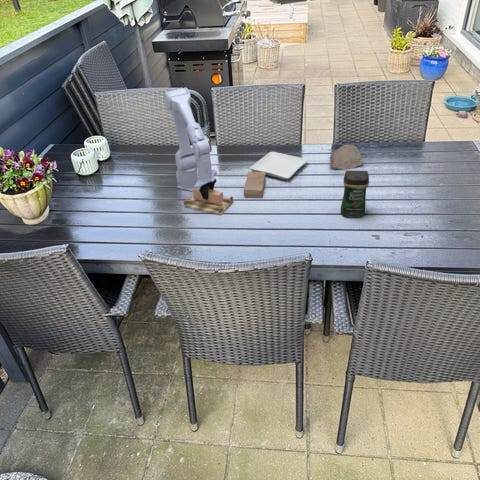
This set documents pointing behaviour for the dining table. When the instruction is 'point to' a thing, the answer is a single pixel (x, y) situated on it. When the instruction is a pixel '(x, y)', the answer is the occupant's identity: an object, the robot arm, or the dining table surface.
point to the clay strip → (209, 196)
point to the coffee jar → (354, 193)
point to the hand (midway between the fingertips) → (207, 196)
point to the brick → (254, 185)
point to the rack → (209, 205)
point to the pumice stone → (346, 157)
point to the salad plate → (279, 165)
